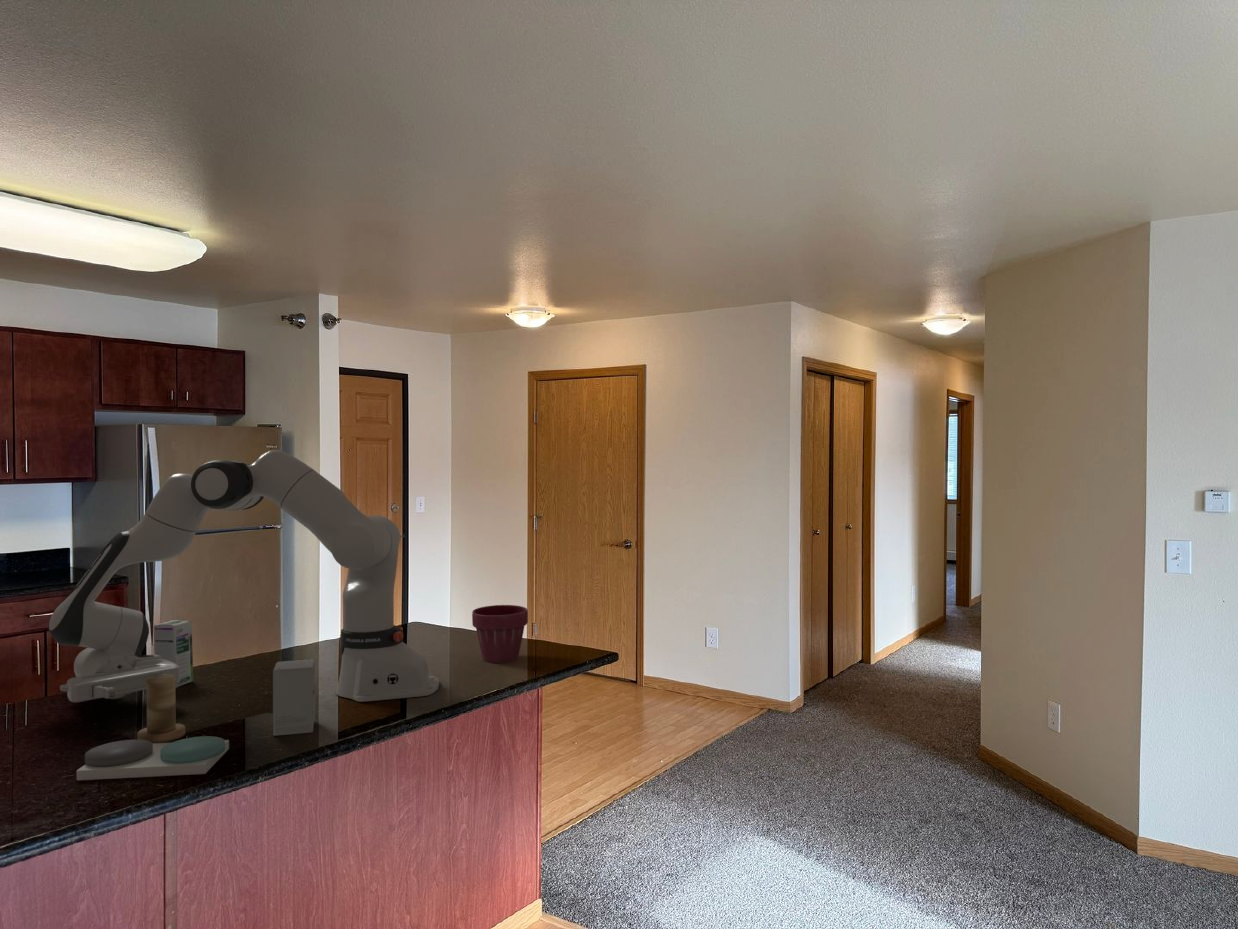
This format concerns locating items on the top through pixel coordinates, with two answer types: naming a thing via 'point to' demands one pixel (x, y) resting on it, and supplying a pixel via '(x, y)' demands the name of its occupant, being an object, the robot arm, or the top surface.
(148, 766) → the double oval pad board
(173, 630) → the syrup box
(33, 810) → the top surface
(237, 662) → the top surface
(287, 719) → the supplement box
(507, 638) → the plant pot
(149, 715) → the brown cylinder round base
